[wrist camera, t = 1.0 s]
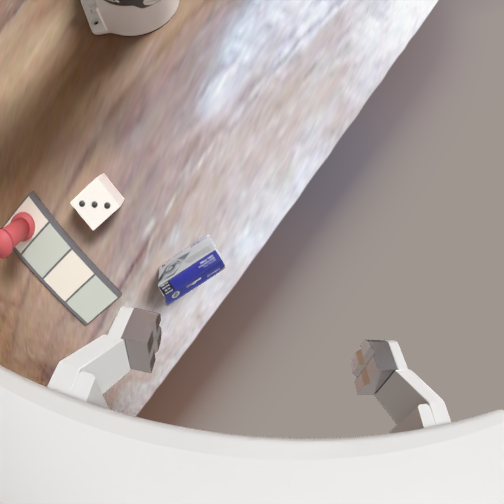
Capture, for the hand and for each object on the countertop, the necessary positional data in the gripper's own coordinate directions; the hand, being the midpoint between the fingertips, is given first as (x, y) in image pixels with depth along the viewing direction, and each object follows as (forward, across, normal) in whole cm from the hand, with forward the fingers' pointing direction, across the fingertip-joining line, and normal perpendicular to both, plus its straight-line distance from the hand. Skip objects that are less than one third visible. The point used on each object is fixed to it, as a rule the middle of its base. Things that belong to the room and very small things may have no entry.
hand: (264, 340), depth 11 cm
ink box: (+38, +10, +23) cm, 45 cm away
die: (+36, +25, +12) cm, 46 cm away
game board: (+30, +34, +24) cm, 51 cm away
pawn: (+29, +40, +16) cm, 52 cm away
